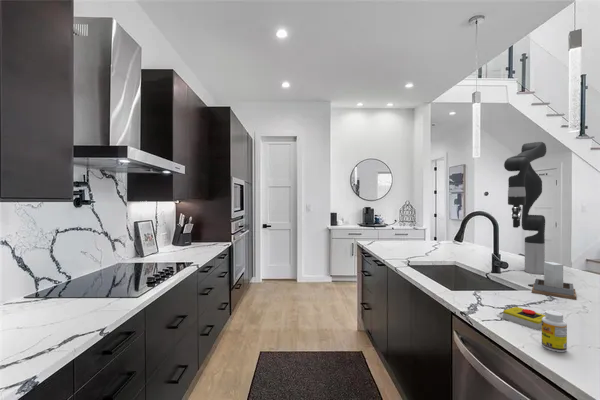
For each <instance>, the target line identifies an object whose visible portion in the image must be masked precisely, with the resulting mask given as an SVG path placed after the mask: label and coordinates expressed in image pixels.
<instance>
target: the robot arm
mask: <svg viewBox="0 0 600 400" xmlns="http://www.w3.org/2000/svg"><path fill="white" fill-rule="evenodd" d="M546 154H547V145H546V143H545V142H543V141H536V142H535V141H534V142H528V143H526V142H525V143H524V144H523V145H522V146H521V152H520V153H518V154H517V155H513V156H510V157H508V158H506V160H504V164H503V167H504V170H506V171H508V172H518V173H517V174H515V175H511V176H509V177H508V180H507V181H508V183H507V184H508V185H507V186H508V188H507V205H508V206H513V207H512V208H511V219H512V227H513V228H515V229H516V228H517V229H518V228H519V227H520V226H521V228H522V230H523V231H530V232H537V233H535V234H533V235H529V236H526V237H524V272H526V273H529V274H534V275H535V274H536V275H544V262H546V256H545V255H546V253H545V251H546V250H545V248H546V245H545V244H546V239H545V237H546V235H545V233H546V232H545V231H546V217H545V216H544V215H543V214H529V213H530V210H531V208H532V206H533V205H534V204H535V202H536V201H537V200H538V199H539V197H540V196H541V195H542V193H543V180H542V178H541V177H540V176H539V174H538V173H537V172H536V170H535V169H534V168H533V166H532V164H531V162H533V161H535V160H537V159H540V158H544V157H545V155H546Z"/></svg>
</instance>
